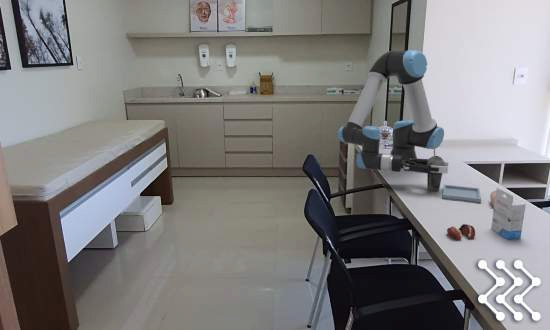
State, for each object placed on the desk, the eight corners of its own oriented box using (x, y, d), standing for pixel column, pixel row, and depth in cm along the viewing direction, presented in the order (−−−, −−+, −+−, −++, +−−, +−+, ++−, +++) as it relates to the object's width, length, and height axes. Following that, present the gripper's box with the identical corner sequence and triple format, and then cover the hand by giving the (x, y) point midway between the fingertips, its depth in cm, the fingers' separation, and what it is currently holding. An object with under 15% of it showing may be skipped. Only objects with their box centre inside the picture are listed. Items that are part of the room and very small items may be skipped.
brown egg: (487, 196, 156) (497, 188, 154) (496, 204, 155) (507, 197, 153) (488, 201, 150) (499, 193, 147) (498, 211, 149) (509, 203, 147)
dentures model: (445, 222, 128) (467, 220, 129) (443, 234, 129) (465, 232, 130) (456, 230, 123) (478, 228, 124) (454, 242, 124) (476, 240, 125)
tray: (443, 188, 172) (443, 184, 172) (478, 192, 167) (479, 188, 166) (442, 198, 160) (442, 194, 159) (480, 203, 154) (481, 199, 154)
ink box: (521, 238, 124) (528, 195, 120) (506, 239, 124) (513, 196, 120) (504, 227, 133) (510, 186, 129) (490, 228, 132) (495, 187, 128)
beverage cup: (443, 194, 165) (448, 148, 160) (425, 193, 167) (429, 147, 161) (440, 188, 172) (444, 144, 167) (422, 187, 174) (426, 144, 168)
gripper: (394, 165, 184) (447, 169, 174) (388, 177, 166) (446, 183, 157) (395, 149, 182) (449, 153, 172) (389, 160, 164) (448, 165, 155)
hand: (447, 167), depth 165 cm, fingers closed on beverage cup, 7 cm apart
